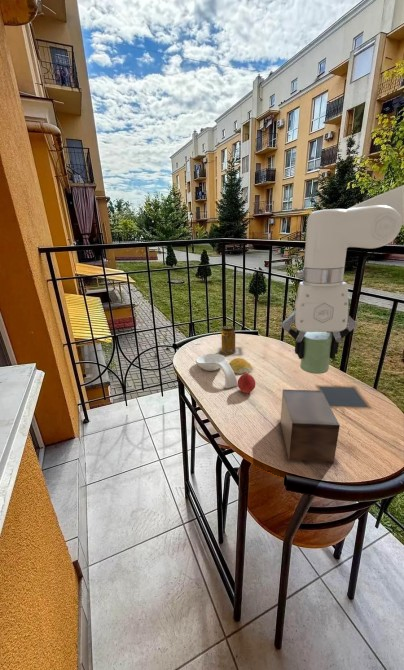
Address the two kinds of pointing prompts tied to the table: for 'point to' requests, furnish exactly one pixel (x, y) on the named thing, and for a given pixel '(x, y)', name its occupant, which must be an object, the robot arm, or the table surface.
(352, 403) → the mat
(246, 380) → the onion
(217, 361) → the spoon rest
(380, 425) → the table surface
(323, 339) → the tea tin
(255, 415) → the table surface
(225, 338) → the condiment
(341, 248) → the robot arm
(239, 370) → the bread roll
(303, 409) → the brown block
